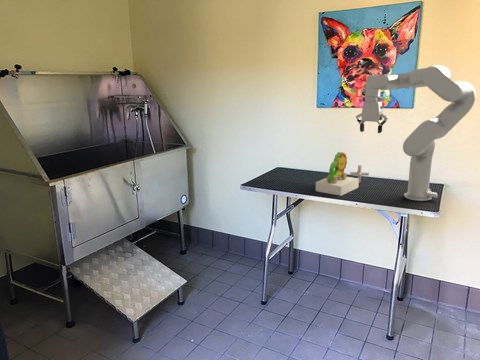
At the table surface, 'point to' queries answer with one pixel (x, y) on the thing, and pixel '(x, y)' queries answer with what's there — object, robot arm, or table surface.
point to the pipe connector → (359, 173)
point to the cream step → (337, 186)
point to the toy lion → (337, 168)
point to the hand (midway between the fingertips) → (370, 132)
